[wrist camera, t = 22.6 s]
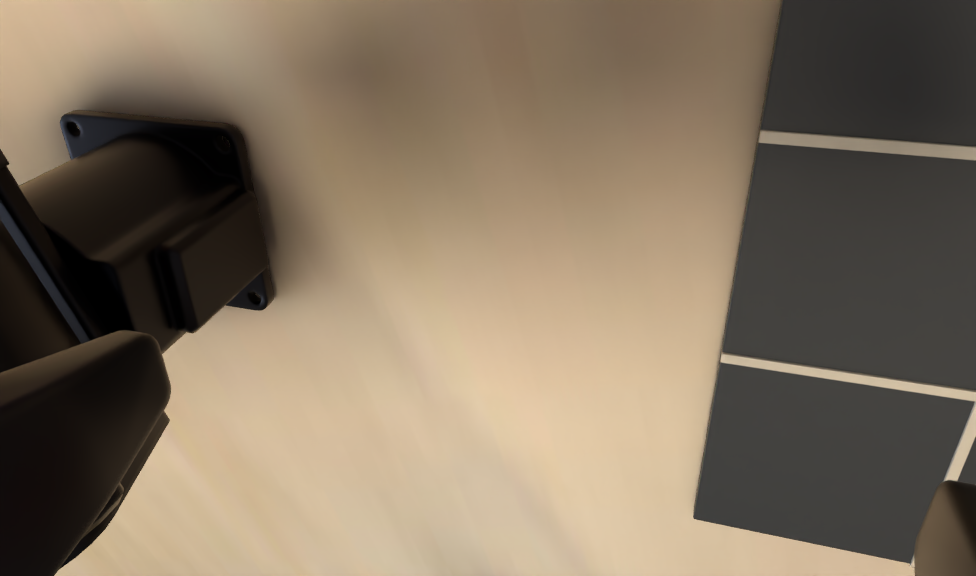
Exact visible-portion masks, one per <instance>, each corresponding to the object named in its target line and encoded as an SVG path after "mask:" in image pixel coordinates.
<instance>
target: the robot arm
mask: <svg viewBox="0 0 976 576" xmlns="http://www.w3.org/2000/svg"><path fill="white" fill-rule="evenodd" d="M76 124H77V125H78V126H79V128H80V130H79V129H78V127H77V125H76ZM60 125H61V130H62V133H63V136H64V139H65V142H66V145H67V149H68V152H69V155H70V158H71V160H70V161H68V162H66V163H64V164H62V165H60V166H58V167H56V168H54V169H52V170H50V171H48V172H46V173H44V174H42V175H40V176H38V177H36V178H34V179H32V180H30V181H28V182H26V183H24V184H22V185H20V186H18V184H17V182H16V181H15V179H14V178H13V176H12V174H11V173H10V171H9V170H8V168H7V165H9V162H8V161H7V159H6V157H5V156H4V154H3V153H2V151H1V149H0V576H54V575H55V574H56V572H57V571H58V570H59V569H60V568H62V567H63V566H64V565H66V564H67V563H69V562H70V561H71V560H73V559H74V558H76V557H77V556H78V555H79V554H80V553H81V552H82V551H84V550H85V549H86V548H87V547H88V546H89V545H90V544H92V543H93V542H94V540H95V539H96V538H97V537H98V536H99V535H100V534H101V533H102V532H103V531H104V530H105V529H106V527H107V526H108V524H109V523H110V521H111V520H112V519H113V517H114V516H115V514H116V512H117V511H118V509H119V507H120V506H121V504H122V502H123V500H124V499H125V497H126V495H127V493H128V492H129V490H130V488H131V487H132V485H133V483H134V481H135V480H136V478H137V476H138V475H139V473H140V471H141V469H142V468H143V466H144V464H145V462H146V461H147V459H148V457H149V456H150V454H151V452H152V450H153V449H154V447H155V445H156V444H157V442H158V440H159V438H160V437H161V435H162V433H163V431H164V430H165V428H166V426H167V425H168V423H169V418H168V416H167V415H166V413H165V412H164V409H165V407H166V406H167V404H168V401H169V398H170V394H171V385H170V381H169V377H168V374H167V370H166V367H165V364H164V360H163V357H162V354H163V353H164V352H165V351H166V350H167V349H168V348H169V347H170V346H171V345H173V344H174V343H175V342H176V341H177V340H178V339H179V338H180V337H182V336H183V335H184V334H185V333H186V332H188V333H194V332H196V331H197V330H199V329H200V328H201V327H202V326H203V325H204V324H205V323H206V322H207V321H208V320H210V319H211V318H212V317H213V316H214V315H215V314H216V313H217V312H218V311H219V310H221V309H222V308H223V307H224V306H225V305H226V306H232V307H239V308H245V309H251V310H263V309H265V308H266V307H267V306H268V305H269V304H270V303H271V302H272V301H273V299H274V294H273V288H272V283H271V278H270V273H269V268H268V264H269V262H268V257H267V251H266V246H265V241H264V236H263V230H262V225H261V220H260V215H259V209H258V204H257V199H256V197H255V195H254V190H253V184H252V179H251V174H250V169H249V163H248V158H247V153H246V148H245V143H244V139H243V136H242V134H241V133H240V131H239V130H238V129H237V128H236V127H234V126H233V125H230V124H226V123H215V122H204V121H193V120H182V119H171V118H160V117H149V116H138V115H127V114H116V113H105V112H94V111H83V110H75V111H72V112H69V113H67V114H65V115H63V116H62V117H61V120H60ZM223 137H225V138H226V139H227V140H228V141H229V144H230V147H229V146H227V145H226V144H225V143H224V141H223V139H222V138H223ZM255 293H257V294H258V295H259V296H260V298H259V297H258V296H257V295H256V294H255ZM914 567H915V576H976V485H975V484H970V483H964V482H959V481H953V480H947V481H944V482H941V484H940V485H939V486H938V487H937V489H936V491H935V493H934V495H933V498H932V500H931V503H930V505H929V508H928V510H927V513H926V515H925V518H924V520H923V523H922V525H921V528H920V530H919V533H918V535H917V538H916V543H915V550H914Z"/></svg>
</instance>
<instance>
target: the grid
mask: <svg viewBox="0 0 976 576" xmlns="http://www.w3.org/2000/svg"><path fill="white" fill-rule="evenodd" d="M947 480H953V481H959V482H964V483H970V484H975V485H976V0H782V1H781V7H780V12H779V18H778V24H777V30H776V36H775V41H774V47H773V53H772V59H771V65H770V71H769V76H768V82H767V88H766V94H765V100H764V105H763V111H762V117H761V123H760V129H759V134H758V140H757V146H756V152H755V158H754V163H753V169H752V175H751V181H750V187H749V193H748V198H747V204H746V210H745V216H744V222H743V227H742V233H741V239H740V245H739V251H738V256H737V262H736V268H735V274H734V280H733V285H732V291H731V297H730V303H729V309H728V315H727V320H726V326H725V332H724V338H723V344H722V349H721V355H720V361H719V367H718V373H717V378H716V384H715V390H714V396H713V402H712V407H711V413H710V419H709V425H708V431H707V436H706V442H705V448H704V454H703V460H702V466H701V471H700V477H699V483H698V489H697V495H696V500H695V506H694V515H693V517H694V519H697V520H702V521H706V522H711V523H716V524H721V525H726V526H731V527H736V528H740V529H745V530H750V531H755V532H760V533H765V534H769V535H774V536H779V537H784V538H789V539H794V540H799V541H803V542H808V543H813V544H818V545H823V546H828V547H832V548H837V549H842V550H847V551H852V552H857V553H862V554H866V555H871V556H876V557H881V558H886V559H891V560H895V561H900V562H905V563H910V567H914V550H915V543H916V538H917V535H918V533H919V530H920V528H921V525H922V523H923V520H924V518H925V515H926V513H927V510H928V508H929V505H930V503H931V500H932V498H933V495H934V493H935V491H936V489H937V487H938V486H939V485H940V484H941V482H944V481H947ZM914 568H915V567H914Z"/></svg>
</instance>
